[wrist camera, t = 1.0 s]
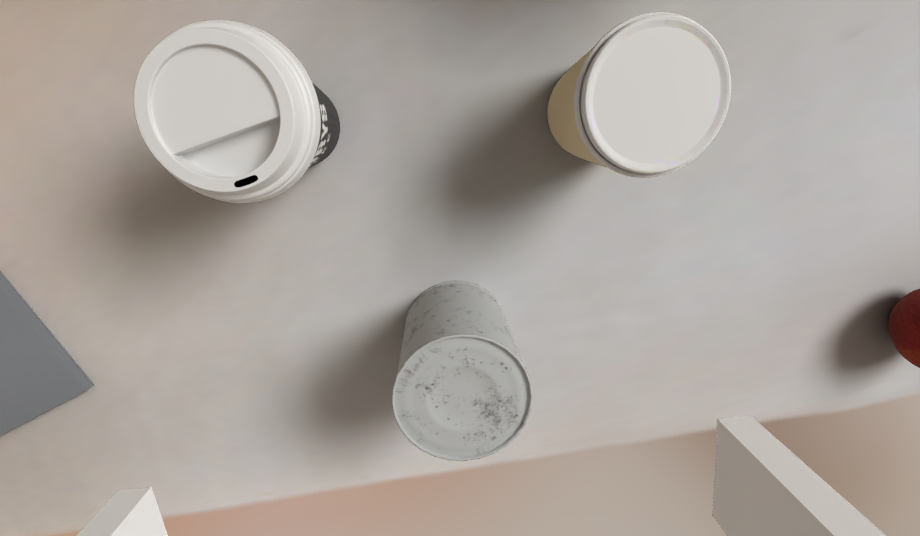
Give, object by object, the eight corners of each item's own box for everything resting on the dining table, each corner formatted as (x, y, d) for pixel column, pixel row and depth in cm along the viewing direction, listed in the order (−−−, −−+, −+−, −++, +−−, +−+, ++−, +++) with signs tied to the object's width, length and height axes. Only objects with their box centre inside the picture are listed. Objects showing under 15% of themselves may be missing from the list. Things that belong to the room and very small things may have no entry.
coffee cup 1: (243, 180, 39) (127, 202, 24) (236, 57, 37) (103, 0, 22) (358, 187, 40) (312, 212, 25) (359, 66, 37) (309, 17, 23)
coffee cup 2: (590, 191, 40) (651, 209, 29) (513, 114, 39) (546, 101, 27) (670, 108, 39) (769, 92, 27) (595, 23, 37) (666, -31, 25)
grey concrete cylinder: (434, 392, 45) (432, 482, 33) (385, 309, 42) (365, 374, 31) (523, 349, 44) (555, 425, 32) (479, 262, 42) (495, 310, 30)
